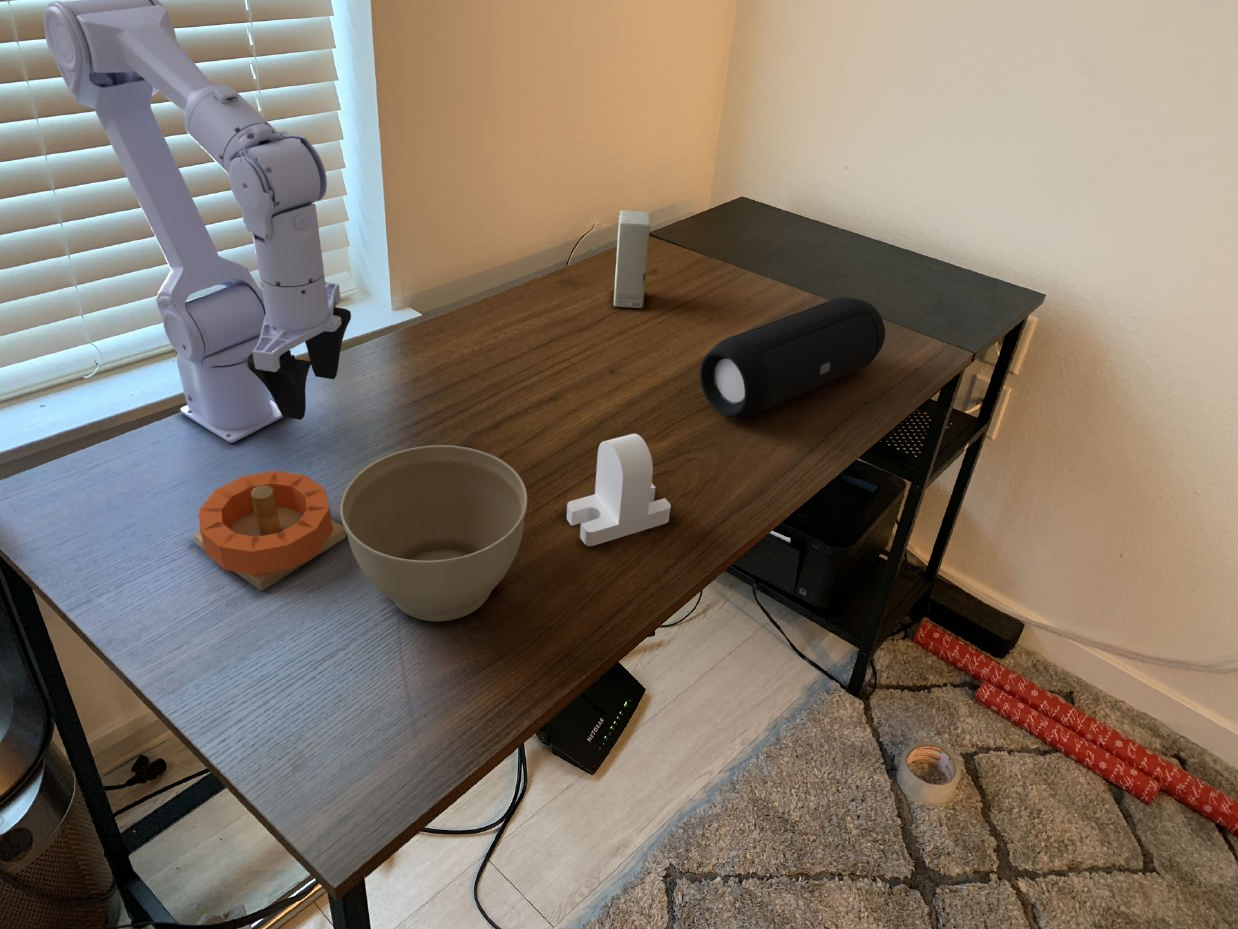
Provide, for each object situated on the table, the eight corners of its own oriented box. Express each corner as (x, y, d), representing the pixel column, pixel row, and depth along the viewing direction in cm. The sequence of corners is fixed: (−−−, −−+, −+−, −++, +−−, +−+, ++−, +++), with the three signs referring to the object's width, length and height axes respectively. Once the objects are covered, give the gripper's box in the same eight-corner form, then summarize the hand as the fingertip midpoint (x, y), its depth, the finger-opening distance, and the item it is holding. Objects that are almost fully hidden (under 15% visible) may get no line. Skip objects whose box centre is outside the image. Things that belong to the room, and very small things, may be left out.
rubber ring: (240, 487, 97) (235, 464, 95) (349, 504, 96) (346, 481, 94) (181, 563, 88) (175, 539, 86) (301, 583, 87) (296, 559, 85)
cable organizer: (671, 521, 99) (681, 445, 93) (587, 547, 95) (592, 469, 89) (646, 492, 103) (654, 417, 97) (564, 516, 99) (568, 438, 93)
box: (643, 309, 136) (651, 225, 129) (612, 307, 136) (619, 223, 129) (643, 293, 141) (650, 210, 133) (613, 291, 140) (619, 208, 133)
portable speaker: (745, 438, 112) (758, 366, 106) (689, 399, 118) (699, 329, 112) (880, 377, 126) (899, 311, 120) (824, 345, 132) (839, 280, 126)
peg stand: (195, 544, 91) (182, 495, 88) (280, 495, 98) (271, 447, 94) (261, 591, 87) (250, 541, 83) (346, 537, 94) (339, 488, 90)
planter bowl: (446, 509, 98) (441, 423, 92) (560, 584, 90) (564, 497, 84) (316, 588, 88) (301, 498, 81) (433, 681, 80) (426, 590, 74)
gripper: (298, 315, 81) (317, 442, 89) (363, 247, 93) (375, 365, 101) (221, 303, 82) (247, 430, 90) (295, 237, 93) (312, 355, 102)
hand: (310, 395), depth 96 cm, fingers open, 7 cm apart
